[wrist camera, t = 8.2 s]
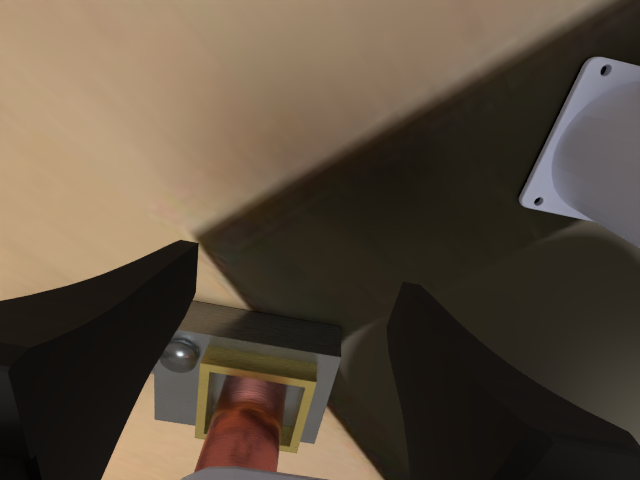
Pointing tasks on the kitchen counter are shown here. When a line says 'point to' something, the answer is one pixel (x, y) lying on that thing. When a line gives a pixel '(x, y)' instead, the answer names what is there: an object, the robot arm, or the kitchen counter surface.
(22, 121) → the kitchen counter surface
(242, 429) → the red metal cylinder
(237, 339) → the grey socket block
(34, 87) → the kitchen counter surface
